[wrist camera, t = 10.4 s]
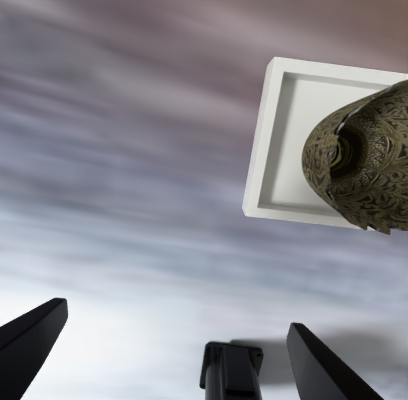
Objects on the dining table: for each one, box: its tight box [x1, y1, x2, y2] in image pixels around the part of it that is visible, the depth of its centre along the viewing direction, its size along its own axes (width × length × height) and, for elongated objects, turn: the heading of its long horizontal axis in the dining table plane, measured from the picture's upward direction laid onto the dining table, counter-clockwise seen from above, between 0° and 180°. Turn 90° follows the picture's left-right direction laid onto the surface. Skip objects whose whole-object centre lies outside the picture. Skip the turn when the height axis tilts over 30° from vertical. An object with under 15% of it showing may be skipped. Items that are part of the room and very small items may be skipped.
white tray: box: [242, 57, 408, 231], centre depth 18 cm, size 12×12×2 cm
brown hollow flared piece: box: [301, 80, 408, 235], centre depth 14 cm, size 8×7×8 cm
